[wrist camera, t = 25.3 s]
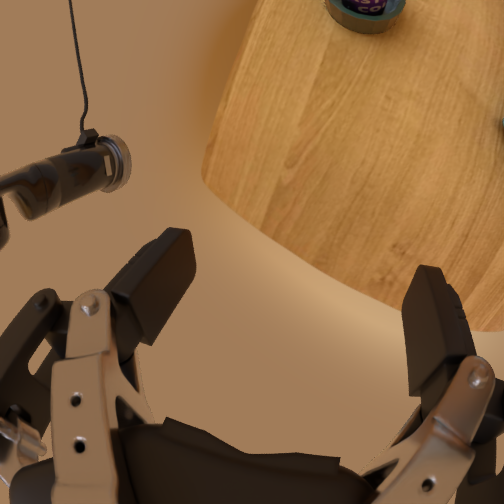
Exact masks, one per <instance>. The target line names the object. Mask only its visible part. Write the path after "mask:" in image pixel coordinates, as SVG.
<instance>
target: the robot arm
mask: <svg viewBox="0 0 504 504" xmlns="http://www.w3.org/2000/svg"><path fill="white" fill-rule="evenodd" d="M68 1H69V8H70V16H71V23H72V30H73V37H74V43H75V50H76V56H77V62H78V67H79V73H80V80H81V86H82V90H83V95H84V103H85V106H84V112H83V115H82V117H81V120H80V132H81V135H80V137H79V139H78V141H77V144H76V145H75V146H72V147H68V148H64V149H62V151H61V153H60V154H58V155H55V156H51V157H48V158H45V159H42V160H39V161H36V162H33V163H31V164H28V165H25V166H23V167H20V168H18V169H15V170H13V171H10V172H8V173H5V174H3V175H0V251H1V250H2V249H3V248H4V247H5V246H6V245H7V243H8V241H9V239H10V230H9V224H8V220H7V217H6V212H5V208H4V203H3V198H2V197H3V196H4V195H6V196H8V197H9V198H10V199H11V201H12V202H13V203H14V205H15V206H16V208H17V210H18V212H19V213H20V214H21V216H22V217H23V218H24V219H25V220H27V221H34V220H36V219H38V218H40V217H42V216H44V215H46V214H48V213H50V212H52V211H54V210H56V209H58V208H60V207H62V206H65V205H67V204H69V203H71V202H73V201H75V200H78V199H80V198H82V197H84V196H86V195H89V194H91V193H93V192H96V191H98V190H101V189H104V188H107V187H109V186H111V185H113V184H114V183H115V181H116V179H117V177H118V173H119V161H118V157H117V154H116V152H115V150H114V149H113V148H112V146H111V145H109V144H108V143H104V142H102V143H101V142H100V141H99V140H97V138H98V136H99V134H98V133H97V132H96V130H95V129H94V128H93V129H88V130H84V127H83V126H84V118H85V116H86V114H87V111H88V97H87V91H86V87H85V82H84V77H83V70H82V65H81V59H80V53H79V47H78V41H77V34H76V28H75V22H74V14H73V8H72V1H71V0H68ZM195 273H196V260H195V254H194V248H193V242H192V235H191V232H190V231H189V230H187V229H179V228H172V227H169V228H167V229H166V230H165V231H164V232H163V233H162V234H161V235H160V236H159V237H158V238H157V239H154V240H152V241H151V242H149V243H147V244H146V245H144V246H143V247H142V248H141V249H140V250H139V251H138V252H137V253H136V254H135V256H133V257H132V258H131V259H130V260H129V262H128V264H126V265H125V266H124V267H123V268H122V269H121V270H120V271H119V273H117V275H116V276H115V277H114V278H113V279H112V280H111V281H110V282H109V284H108V285H107V286H106V287H105V288H104V289H103V290H101V289H93V290H89V291H86V292H84V293H83V294H81V295H80V296H78V297H77V298H76V299H75V301H61V300H60V299H59V297H58V295H57V294H56V292H55V290H53V289H50V288H47V289H43V290H40V291H39V292H37V293H35V294H34V295H33V296H32V297H31V298H30V300H29V301H28V302H27V303H26V304H25V306H24V307H23V308H22V309H21V310H20V312H19V313H18V314H17V316H16V317H15V318H14V319H13V321H12V322H11V323H10V324H9V326H8V327H7V328H6V330H5V331H4V332H3V334H2V335H1V337H0V478H1V479H2V481H3V482H4V483H5V484H6V485H7V486H8V487H9V498H10V504H447V503H448V501H449V500H450V498H451V497H452V496H453V494H454V493H455V491H456V489H457V493H456V498H455V504H504V466H503V469H502V471H501V472H500V473H499V474H498V475H497V476H496V473H495V469H496V437H498V436H499V435H501V434H502V433H504V381H503V380H500V379H497V378H495V374H494V371H493V369H492V367H491V365H490V364H489V363H488V362H487V361H486V360H485V359H484V358H482V357H480V356H477V354H476V350H475V346H474V342H473V339H472V335H471V332H470V328H469V325H468V322H467V320H466V316H465V313H464V310H462V308H463V307H462V304H461V301H460V298H459V296H458V294H457V293H456V292H455V290H454V289H453V288H452V286H451V285H450V284H447V283H446V280H445V278H444V275H443V273H442V270H441V269H440V268H439V267H433V266H427V265H419V266H418V268H417V270H416V272H415V274H414V277H413V279H412V282H411V284H410V286H409V288H408V291H407V293H406V295H405V297H404V300H403V304H402V320H403V328H404V336H405V345H406V354H407V366H408V382H409V396H415V397H421V404H420V405H419V406H418V407H417V408H416V409H415V411H414V412H413V414H412V415H411V416H410V418H409V419H408V420H407V422H406V423H405V424H404V426H403V427H402V428H401V430H400V431H399V432H398V433H397V435H396V436H395V437H394V439H393V440H392V441H391V442H390V443H389V445H388V446H387V447H386V448H385V449H384V450H383V451H382V452H381V453H380V454H379V455H377V456H376V457H375V458H374V459H373V460H371V461H370V462H369V463H368V464H367V465H366V466H365V467H364V468H363V469H362V470H361V471H360V472H359V473H358V474H357V473H355V472H353V471H352V470H350V469H348V468H345V467H343V466H340V465H339V463H340V457H329V456H320V455H312V454H304V453H297V452H295V453H278V454H248V453H244V452H242V451H240V450H238V449H236V448H234V447H232V446H231V445H229V444H227V443H225V442H223V441H222V440H220V439H218V438H217V437H215V436H213V435H211V434H210V433H208V432H206V431H204V430H201V429H198V428H196V427H193V426H190V425H187V424H184V423H182V422H179V421H176V420H174V419H171V418H169V417H166V418H165V420H164V422H163V424H155V421H154V417H153V414H152V412H151V409H150V407H149V405H148V403H147V401H146V398H145V394H144V388H143V383H142V377H141V371H140V364H139V357H138V351H137V349H136V347H137V345H138V344H139V342H141V343H144V344H147V345H149V346H152V345H153V343H154V341H155V340H156V338H157V336H158V335H159V333H160V331H161V330H162V328H163V327H164V325H165V324H166V322H167V320H168V319H169V317H170V316H171V314H172V312H173V311H174V309H175V308H176V306H177V304H178V303H179V301H180V300H181V298H182V297H183V295H184V294H185V292H186V290H187V289H188V287H189V286H190V284H191V283H192V281H193V279H194V277H195ZM44 338H45V339H46V340H47V342H48V343H49V344H50V346H51V347H52V349H51V350H50V352H49V353H48V355H47V356H46V358H45V360H44V361H43V363H42V364H41V366H40V367H39V369H38V370H37V372H36V373H35V374H34V375H31V374H30V372H29V370H28V362H29V360H30V358H31V357H32V355H33V354H34V352H35V351H36V349H37V348H38V346H39V345H40V343H41V342H42V341H43V339H44ZM50 421H51V437H52V451H53V457H52V458H49V459H46V460H43V461H40V462H38V456H44V455H45V454H46V451H47V448H46V445H45V444H44V443H43V442H41V439H42V437H43V434H44V433H45V430H46V428H47V427H48V425H49V423H50Z"/></svg>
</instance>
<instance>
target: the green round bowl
mask: <svg viewBox="0 0 504 504" xmlns="http://www.w3.org/2000/svg"><path fill="white" fill-rule="evenodd" d="M325 4H326V7H327V9H328V11H329V13H330V14H331V16H332V17H333V18H334V19H335V20H336V21H337V22H338V23H340V24H341V25H342V26H344V27H346V28H348V29H350V30H352V31H355V32H358V33H363V34H379V33H383V32H386V31H388V30H389V29H391V28H392V27H393V26H394V25H395V23H396V21H397V20H398V18H399V16H400V14H401V12H402V10H403V8H404V6H405V4H406V2H405V0H388V1H387V4H386V7H385V10H384V12H383V14H382V15H379V16H369V15H363V14H358V13H356V12H353V11H351V10H349V9H346V8H345V7H344V6H343V4H342V1H341V0H325Z"/></svg>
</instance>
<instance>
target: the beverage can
mask: <svg viewBox="0 0 504 504" xmlns="http://www.w3.org/2000/svg"><path fill="white" fill-rule="evenodd" d="M341 1H342V4H343V6H344V7H345V8H346V9H349V10H351V11H353V12H356V13H358V14H363V15H369V16H379V15H382V14H383V12H384V10H385V7H386V4H387V1H388V0H341Z"/></svg>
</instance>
